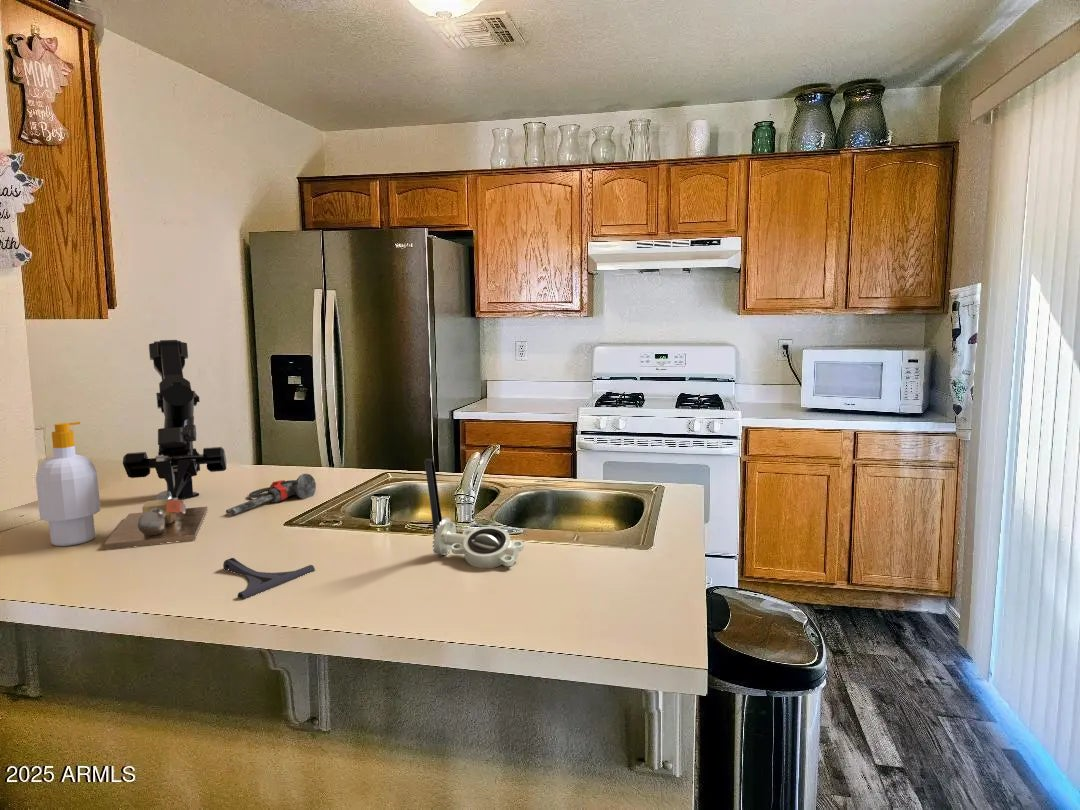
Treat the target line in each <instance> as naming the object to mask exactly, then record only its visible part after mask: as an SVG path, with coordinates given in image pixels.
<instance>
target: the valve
mask: <svg viewBox="0 0 1080 810" xmlns="http://www.w3.org/2000/svg"><path fill="white" fill-rule="evenodd" d="M316 488H317V483H316V480H315V478H314V477H313V475H312V474H309V473H302V474H300V475H299V476H298V477H297V478H296V479H295V480H294V479H292V480H291V479H290V480H289V479H288V480H282V479H281V480H276V481H273V482H271V484H270V486H268V487H263V488H259V489H256V490H253V491H251V492H249V494H248V497H249V498H250V499H251V500H249V501H246V502H243V503H241V504H238V505H235V506H233V507H231V508H227V509H226V510H225V513H226V514H227V515H229V514H231V515H232V516H234V515H236V514H239V513H242V512H245V511H246V510H249V509H252V508H253V507H256V506H259V505H262V504H264V503H267V502H270V503H272V504H273V503H274V502H275V503H281V502H283V501H285V500H286V499H288V497H291V496H293V495H297V496H298V498H299V499H302V500H306V499H309V498H312V497H313V496H315V493H316ZM280 501H281V502H280Z"/></svg>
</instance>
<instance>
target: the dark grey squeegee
mask: <svg viewBox="0 0 1080 810" xmlns="http://www.w3.org/2000/svg"><path fill="white" fill-rule="evenodd" d="M222 564H223V567H222V568H223V570H224V569H225V570H224V571H226V570H228V569H229V570H228V571H227V572H230V571H232V572H231V573H233V572H235V573H234V574H236V573H238V574H237V575H240V574H242V575H241V576H243V575H245V576H244V577H245V578H246V579H247V580H248V582H249V583H248V586H247V587H246V588H245V589H244V590H242V591H239V592H237V598H238V597H241V596H243V597H241V598H242V600H243V599H245V600H247V599H249V598H251V596H252V597H255V596H256V594H257V595H259V594H261V592H262V593H264V592H267V591H269V590H272V589H273V588H277V587H279V586H281V585H285V584H286V583H289V582H291V581H293V580H296V579H299V578H301V577H304V576H306V575H308V574H307V573H309V574H311V573H314V572H315V570H316V569H315V568H316V567H315V566H314V565H312V564H309V565H306V566H304V567H302V568H299V569H296V570H291V571H280V572H279V571H278V572H265V571H258V570H257V571H256V570H254V569H252V568H250V567H249V566H246V565H245V564H244V563H242V562H240V561H238V560H237V559H236V558H235V557H230V558H228V559H226V560H225V559H224V562H223V563H222ZM310 572H311V573H310ZM305 574H306V575H305ZM303 575H304V576H303ZM300 576H301V577H300ZM298 577H299V578H298ZM262 582H263V583H262ZM261 583H262V584H261ZM271 588H272V589H271ZM266 590H267V591H266ZM258 593H259V594H258ZM246 598H247V599H246Z"/></svg>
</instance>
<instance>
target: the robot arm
mask: <svg viewBox="0 0 1080 810" xmlns="http://www.w3.org/2000/svg"><path fill="white" fill-rule="evenodd" d="M148 350H149V351H148V353H149V360H150V361H152V362H153V368H154V370H155V371H156V372H157V373H158V375H159V376H160V377H161V381H160V382H159V383H158V388H159V392H156V393H155V394H156V404H157V405H156V406H157V409H160V410H161V411H160V412H161V413H162V414H163V415H164V422H163V428H158V429H157V445H158V451H157V453H158V454H157V455H155V457H152V458H149V457H148V453H147V452H146V451H140V452H127V453H126V454H125V455H123V459H122V465H123V468H124V470H125V472H126V475H127V477H128V478H131V479H136V478H139V479H140V478H146V477H148V476H149V475H150V474H151V469H155V471H156V474H157V477H158V478H159V479H160V480H161V479H163V480H164V481H165V482H166V491H170V492H171V495H172V498H177V497H178V500H179V499H180V500H183V499H188V498H189V499H190V498H193V497H197V496H200V493H199V492H196V491H194V488H193V477H196V476H197V475H198V472H200V471H201V466H200V465H206V470H208V471H209V472H211V473H215V472H225V471H226V470H227V457H226V451H225V448H223V447H222V446H216V447H215V446H214V447H204V448H203V450H202V453H201V454H200V453H199V452H198V450H197V448H196V447H195V448H194V442H197V428H196V427H197V426H196V424H195V416H194V415H195V414H194V413H195V409H194V408H195V407H196V406H197V405H198V403H200V396H199V395H198V394H197V393H196V391H195V390H192V386H191V382H190V381H189V380H188V379H186V378H185V377H184V373H183V370H184V368H185V365H186V359H189V351H188V343H187V342H183V341H181V340H178V339H162V340H161V339H160V340H154V341H153V343H149V344H148Z"/></svg>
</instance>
